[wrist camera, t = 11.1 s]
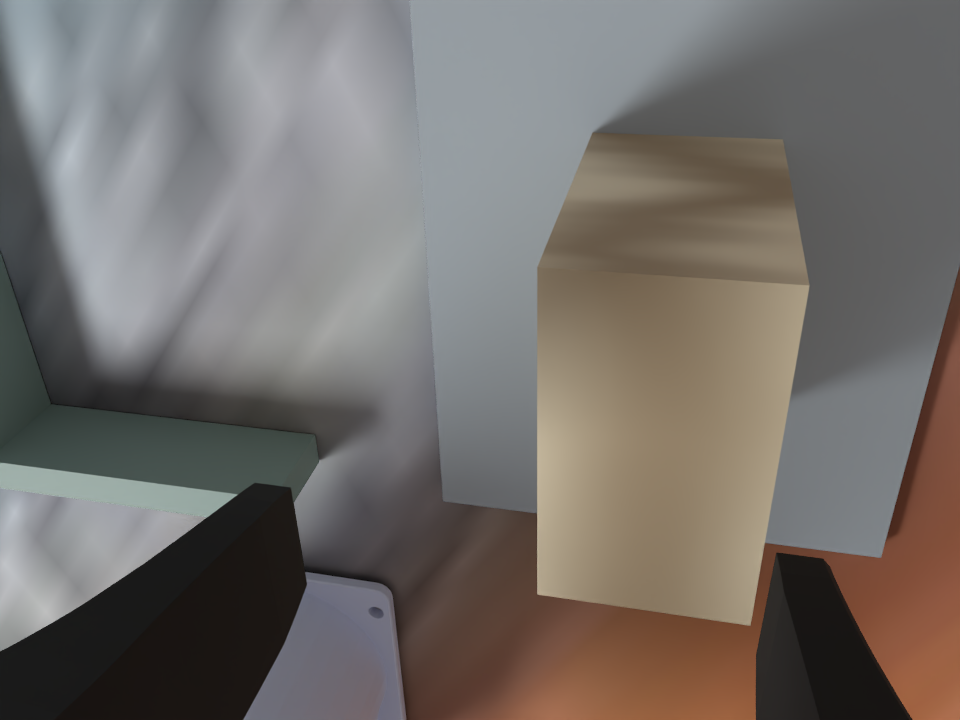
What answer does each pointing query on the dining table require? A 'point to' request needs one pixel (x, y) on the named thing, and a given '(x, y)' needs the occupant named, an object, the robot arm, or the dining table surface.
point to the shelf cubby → (128, 444)
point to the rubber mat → (708, 113)
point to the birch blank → (666, 372)
